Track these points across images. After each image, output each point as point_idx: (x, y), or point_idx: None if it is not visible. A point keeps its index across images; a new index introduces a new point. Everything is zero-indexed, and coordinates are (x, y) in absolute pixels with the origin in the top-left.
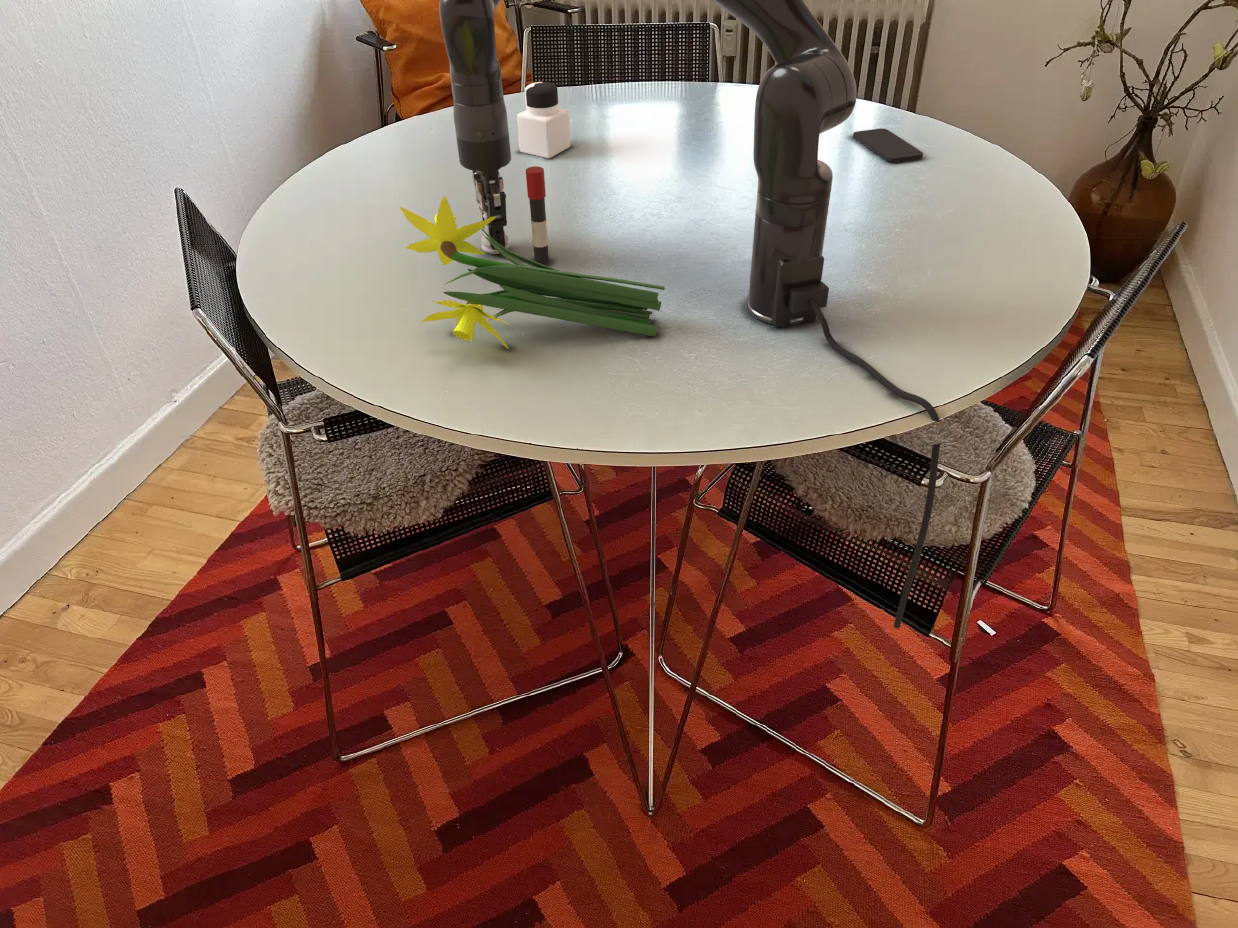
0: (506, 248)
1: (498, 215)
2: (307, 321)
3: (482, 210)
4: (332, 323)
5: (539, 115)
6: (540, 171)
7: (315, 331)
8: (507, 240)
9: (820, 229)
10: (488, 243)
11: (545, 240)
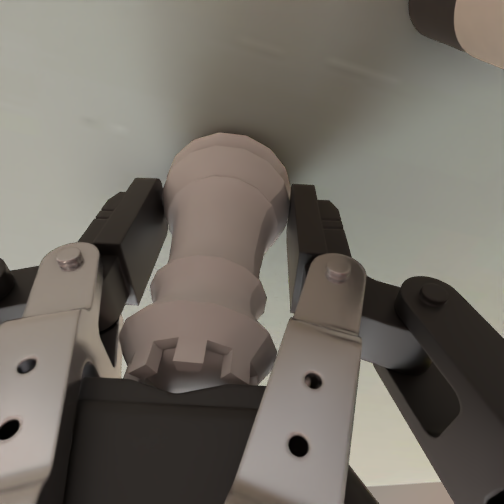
0: (278, 160)
1: (248, 282)
2: (364, 468)
3: (121, 316)
4: (393, 456)
5: None
6: None
7: (401, 466)
8: (259, 161)
9: None
10: (270, 246)
11: None
